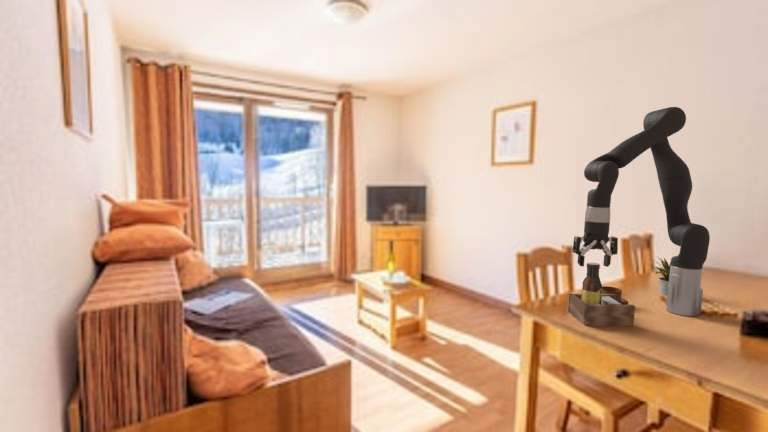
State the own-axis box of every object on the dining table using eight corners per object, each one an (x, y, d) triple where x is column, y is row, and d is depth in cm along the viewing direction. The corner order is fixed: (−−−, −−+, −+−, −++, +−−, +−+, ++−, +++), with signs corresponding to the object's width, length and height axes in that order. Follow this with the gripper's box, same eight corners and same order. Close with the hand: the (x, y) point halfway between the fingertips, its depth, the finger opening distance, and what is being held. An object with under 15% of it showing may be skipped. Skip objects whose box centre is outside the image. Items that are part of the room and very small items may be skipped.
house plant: (650, 285, 174) (653, 250, 172) (688, 292, 164) (692, 255, 162) (643, 293, 163) (646, 255, 161) (684, 300, 154) (688, 261, 152)
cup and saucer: (587, 303, 151) (588, 288, 150) (599, 297, 159) (600, 282, 158) (621, 312, 142) (622, 296, 141) (632, 305, 150) (633, 289, 149)
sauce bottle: (603, 322, 132) (607, 266, 129) (583, 321, 133) (587, 265, 131) (596, 315, 138) (600, 261, 136) (577, 314, 139) (581, 261, 137)
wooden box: (612, 312, 142) (613, 293, 141) (633, 325, 129) (635, 305, 128) (568, 311, 142) (569, 293, 141) (585, 325, 130) (586, 305, 129)
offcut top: (608, 305, 139) (609, 296, 139) (620, 314, 131) (621, 304, 131) (597, 305, 139) (597, 296, 139) (608, 313, 131) (609, 303, 131)
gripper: (611, 218, 135) (608, 263, 137) (571, 218, 135) (568, 263, 137) (624, 221, 128) (620, 269, 130) (581, 221, 128) (578, 268, 130)
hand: (593, 266), depth 133 cm, fingers open, 8 cm apart
